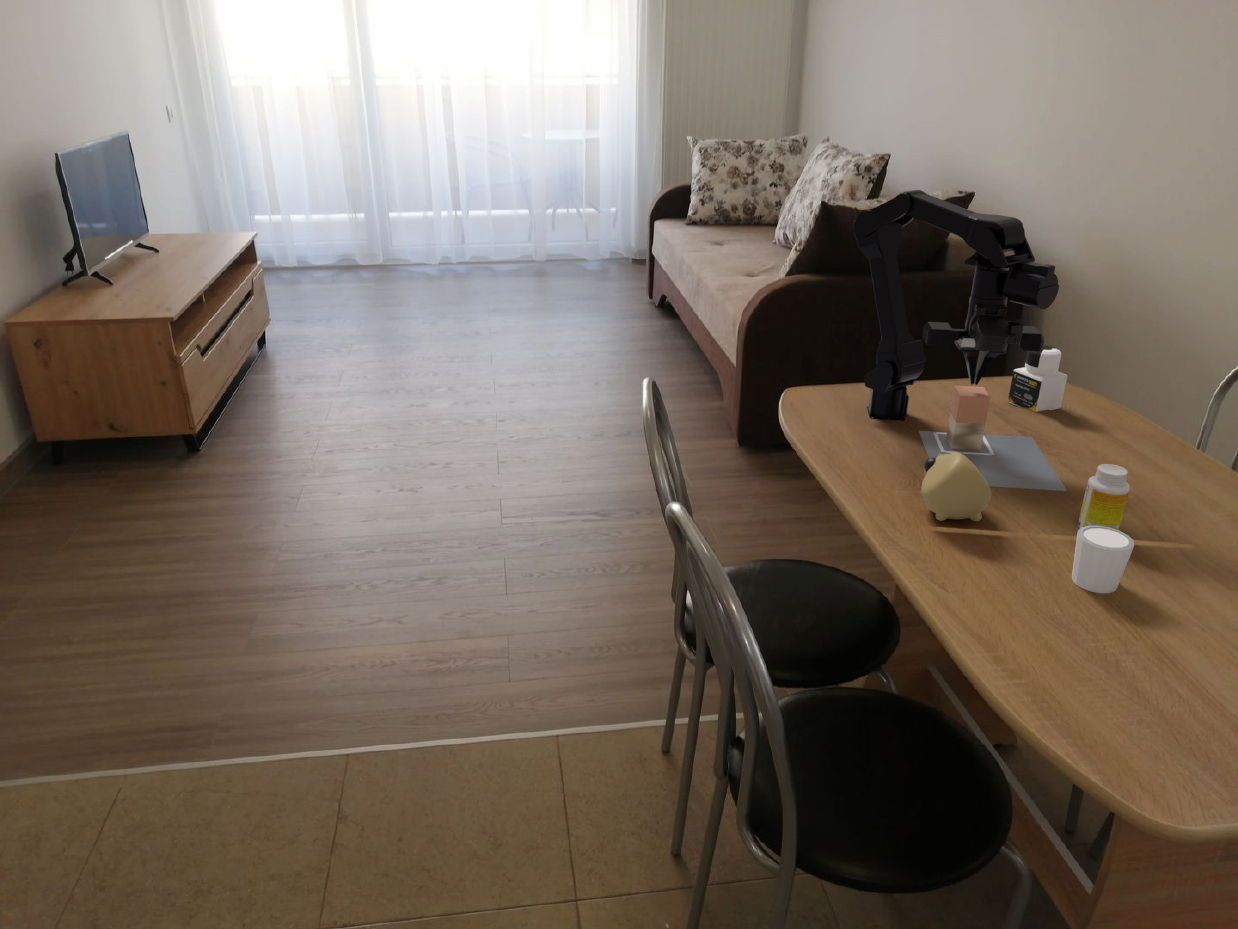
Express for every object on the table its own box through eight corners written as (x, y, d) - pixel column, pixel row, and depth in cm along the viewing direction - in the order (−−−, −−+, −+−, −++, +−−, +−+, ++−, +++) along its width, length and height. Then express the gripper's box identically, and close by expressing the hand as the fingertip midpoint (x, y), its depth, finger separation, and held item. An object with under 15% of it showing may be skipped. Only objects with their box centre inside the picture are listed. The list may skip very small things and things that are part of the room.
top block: (955, 422, 163) (960, 395, 161) (949, 411, 168) (954, 385, 166) (985, 424, 163) (990, 397, 160) (978, 413, 167) (983, 387, 165)
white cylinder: (1119, 601, 123) (1131, 555, 120) (1062, 586, 126) (1073, 541, 123) (1125, 577, 128) (1137, 533, 125) (1070, 563, 131) (1081, 519, 128)
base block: (951, 448, 165) (955, 422, 163) (946, 437, 170) (950, 411, 168) (980, 450, 165) (985, 424, 163) (974, 439, 169) (979, 413, 167)
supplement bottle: (1125, 540, 137) (1142, 477, 133) (1088, 540, 137) (1103, 477, 133) (1106, 521, 142) (1121, 460, 138) (1070, 522, 142) (1084, 461, 138)
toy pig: (972, 498, 149) (983, 437, 145) (993, 536, 138) (1006, 471, 134) (909, 496, 150) (918, 435, 145) (925, 532, 139) (935, 468, 135)
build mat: (938, 486, 153) (939, 482, 153) (918, 433, 173) (918, 430, 172) (1066, 494, 151) (1067, 490, 150) (1031, 440, 170) (1031, 436, 170)
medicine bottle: (1006, 402, 188) (1017, 345, 182) (1032, 397, 190) (1044, 340, 185) (1034, 414, 182) (1046, 355, 177) (1061, 409, 184) (1074, 350, 179)
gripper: (939, 306, 150) (925, 397, 156) (1062, 311, 147) (1042, 403, 154) (928, 288, 160) (915, 375, 166) (1042, 292, 157) (1025, 380, 164)
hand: (973, 383), depth 162 cm, fingers closed
